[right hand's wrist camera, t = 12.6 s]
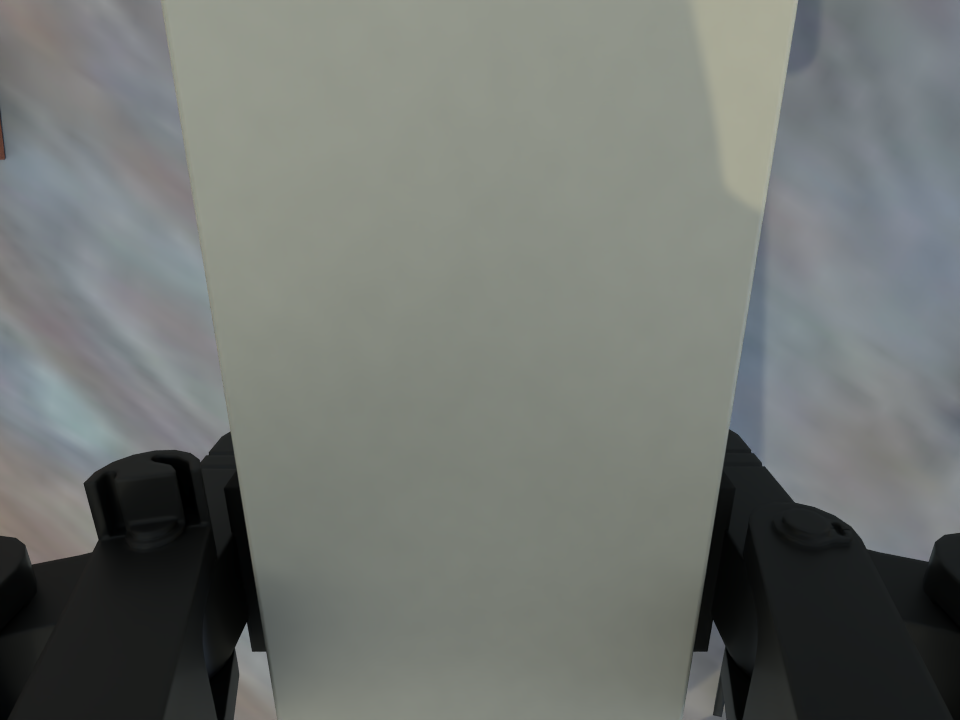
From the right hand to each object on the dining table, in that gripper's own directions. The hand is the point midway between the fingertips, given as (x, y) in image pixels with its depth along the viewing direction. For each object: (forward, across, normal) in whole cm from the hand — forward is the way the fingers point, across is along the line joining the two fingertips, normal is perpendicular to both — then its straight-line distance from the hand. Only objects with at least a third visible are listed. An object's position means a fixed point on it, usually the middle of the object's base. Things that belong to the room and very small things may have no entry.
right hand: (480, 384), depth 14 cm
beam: (0, 0, -10) cm, 10 cm away
